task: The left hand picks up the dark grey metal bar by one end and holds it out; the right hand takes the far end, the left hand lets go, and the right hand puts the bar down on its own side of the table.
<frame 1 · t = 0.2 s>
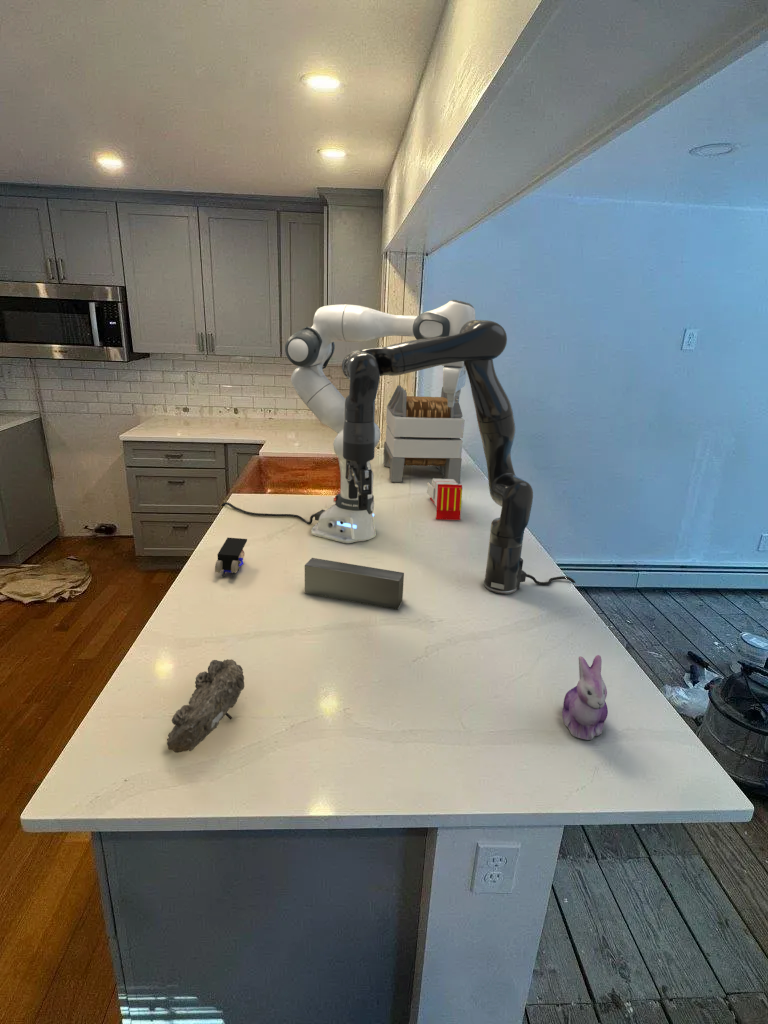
left hand: (453, 404, 174), 48 cm above the counter, tool pointing down, fingers open, 8 cm apart
right hand: (357, 503, 140), 29 cm above the counter, tool pointing down, fingers open, 8 cm apart
toy: (443, 508, 228), on the counter
fossil: (212, 717, 108), on the counter
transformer: (419, 473, 275), on the counter
figurine: (584, 725, 110), on the counter
bar: (353, 597, 155), on the counter
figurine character: (232, 569, 168), on the counter
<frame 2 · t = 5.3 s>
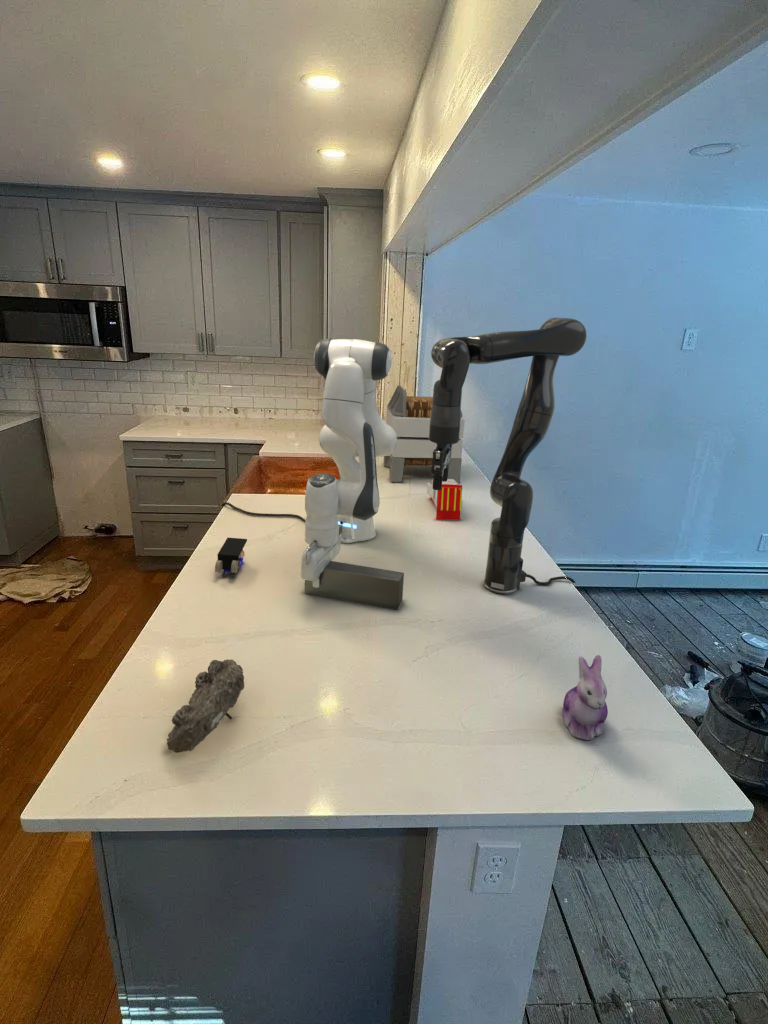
left hand: (321, 581, 156), 3 cm above the counter, tool pointing down, fingers closed on bar, 5 cm apart
right hand: (440, 485, 146), 32 cm above the counter, tool pointing down, fingers open, 8 cm apart
bar: (353, 597, 155), on the counter, touching left hand
everything else where it was.
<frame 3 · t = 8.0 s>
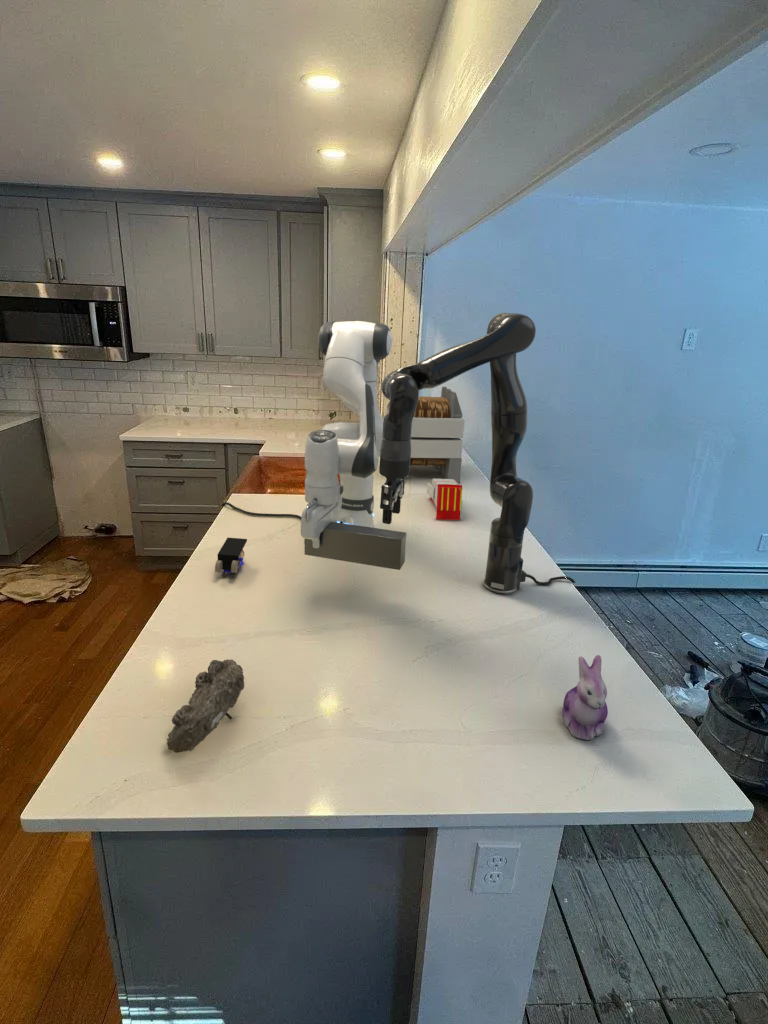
left hand: (321, 542, 153), 15 cm above the counter, tool pointing down, fingers closed on bar, 5 cm apart
right hand: (391, 518, 145), 24 cm above the counter, tool pointing down, fingers open, 8 cm apart
bar: (354, 558, 151), point 12 cm above the counter, touching left hand
everything else where it was.
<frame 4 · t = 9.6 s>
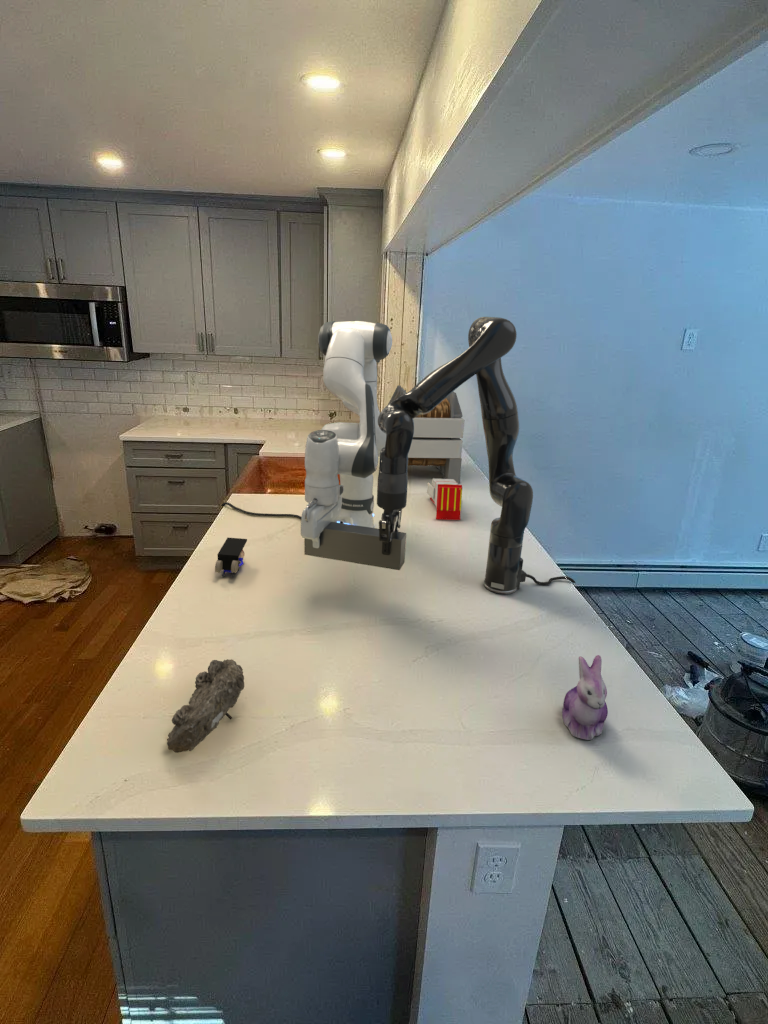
left hand: (321, 542, 153), 15 cm above the counter, tool pointing down, fingers closed on bar, 5 cm apart
right hand: (389, 549, 148), 16 cm above the counter, tool pointing down, fingers closed on bar, 5 cm apart
bar: (354, 558, 151), point 12 cm above the counter, touching left hand, right hand
everything else where it was.
when the left hand's fingers open (15 cm above the counter, at t = 10.7 s): bar moves 1 cm, held by the right hand.
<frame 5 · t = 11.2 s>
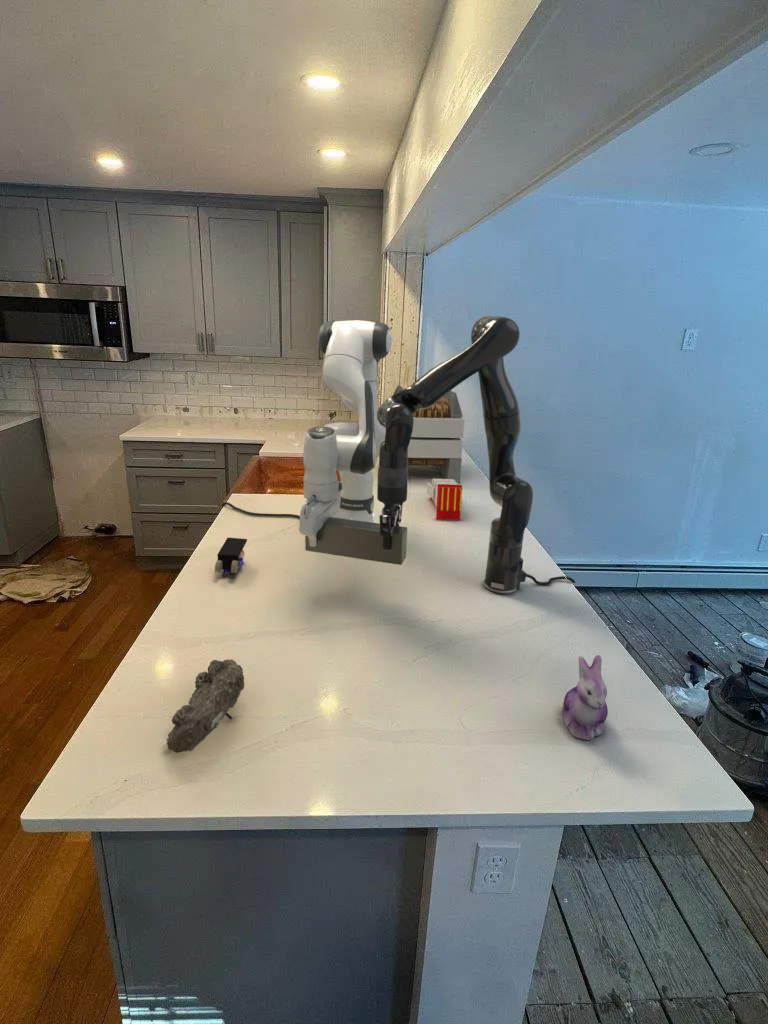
left hand: (320, 538, 152), 16 cm above the counter, tool pointing down, fingers open, 8 cm apart
right hand: (390, 544, 147), 17 cm above the counter, tool pointing down, fingers closed on bar, 5 cm apart
bar: (355, 553, 151), point 13 cm above the counter, touching right hand
everything else where it was.
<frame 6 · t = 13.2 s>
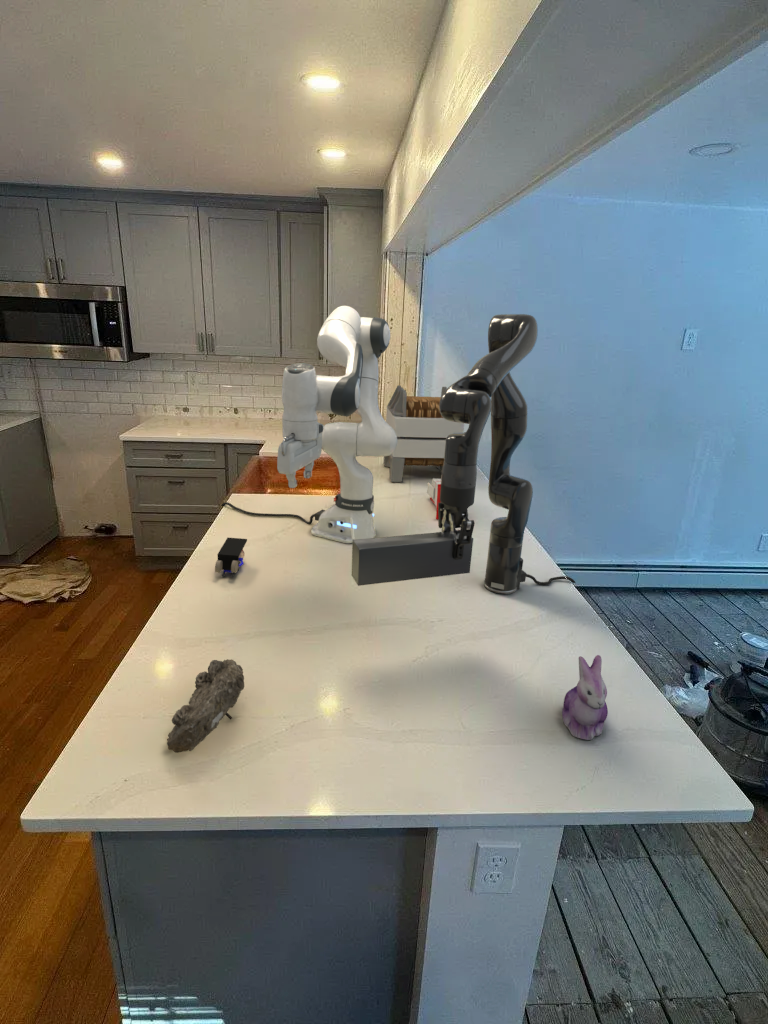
left hand: (300, 482, 148), 31 cm above the counter, tool pointing down, fingers open, 8 cm apart
right hand: (451, 553, 129), 23 cm above the counter, tool pointing down, fingers closed on bar, 5 cm apart
bar: (411, 574, 127), point 19 cm above the counter, touching right hand
everything else where it was.
when the right hand's fingers open (6 cm above the counter, at t = 16.8 s): bar drops 1 cm, on the counter.
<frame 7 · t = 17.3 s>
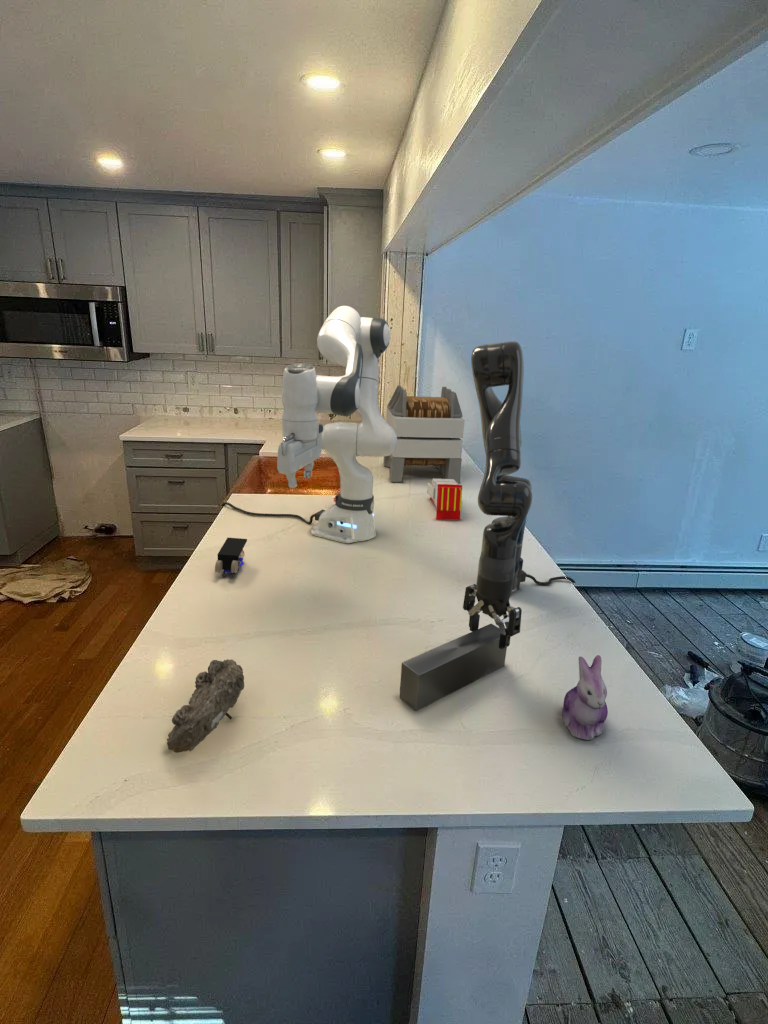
left hand: (300, 482, 148), 31 cm above the counter, tool pointing down, fingers open, 8 cm apart
right hand: (488, 638, 125), 7 cm above the counter, tool pointing down, fingers open, 8 cm apart
bar: (454, 681, 122), on the counter
everything else where it was.
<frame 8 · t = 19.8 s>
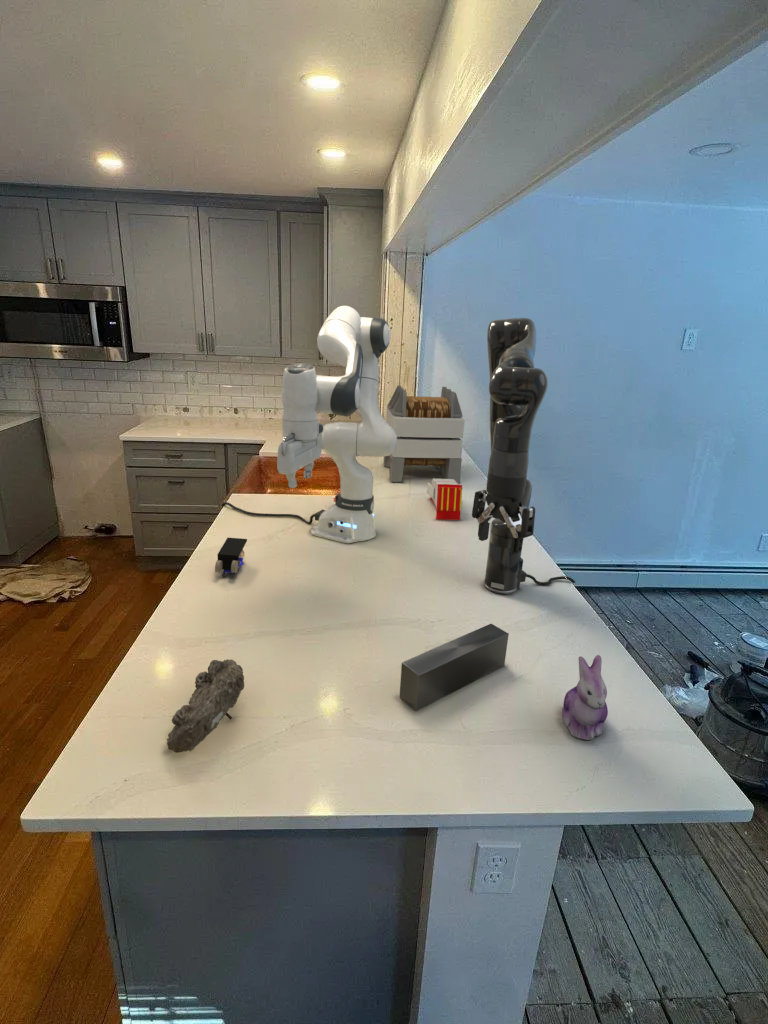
left hand: (300, 482, 148), 31 cm above the counter, tool pointing down, fingers open, 8 cm apart
right hand: (498, 546, 117), 29 cm above the counter, tool pointing down, fingers open, 8 cm apart
nothing on the counter moved.
at the end: bar inside the target area (9.2 cm from its centre), on the counter; the left hand is holding nothing; the right hand is holding nothing; bar at rest at the end (0.0 cm/s) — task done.
